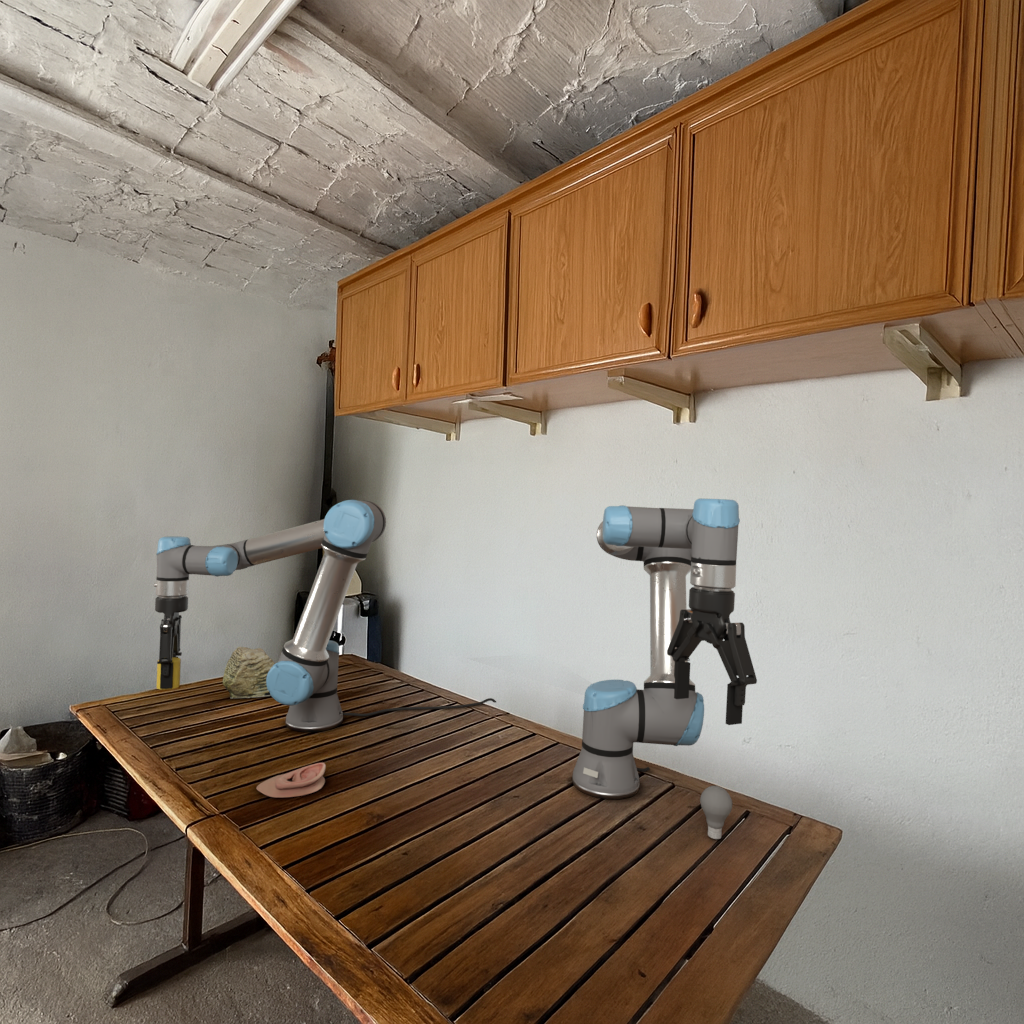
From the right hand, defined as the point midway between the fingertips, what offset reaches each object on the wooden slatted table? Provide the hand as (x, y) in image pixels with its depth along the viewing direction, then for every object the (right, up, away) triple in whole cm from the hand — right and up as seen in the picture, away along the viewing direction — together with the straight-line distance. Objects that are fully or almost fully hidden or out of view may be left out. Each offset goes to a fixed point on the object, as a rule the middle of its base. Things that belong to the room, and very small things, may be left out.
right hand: (706, 710), depth 110 cm
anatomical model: (-82, -25, +28) cm, 90 cm away
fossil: (-114, -23, +88) cm, 146 cm away
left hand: (-123, -11, +55) cm, 135 cm away
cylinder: (-123, -11, +55) cm, 136 cm away
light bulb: (+6, -30, +14) cm, 33 cm away
